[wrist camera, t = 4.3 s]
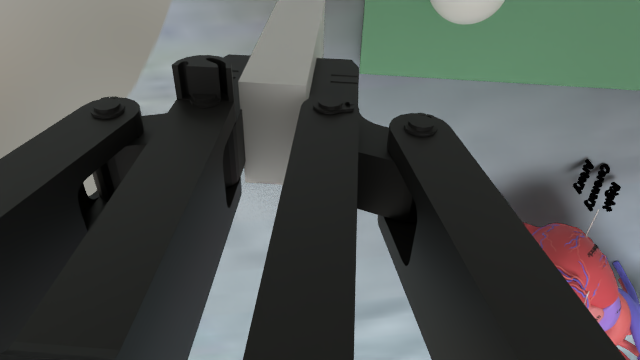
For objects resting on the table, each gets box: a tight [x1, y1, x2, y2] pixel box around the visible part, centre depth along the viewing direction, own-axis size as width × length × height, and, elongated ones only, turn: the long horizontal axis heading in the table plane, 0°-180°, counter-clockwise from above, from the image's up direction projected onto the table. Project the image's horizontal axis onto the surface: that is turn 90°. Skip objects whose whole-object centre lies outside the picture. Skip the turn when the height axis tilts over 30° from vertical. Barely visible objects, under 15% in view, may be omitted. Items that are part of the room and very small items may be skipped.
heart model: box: [523, 159, 640, 360], centre depth 33 cm, size 17×10×20 cm
